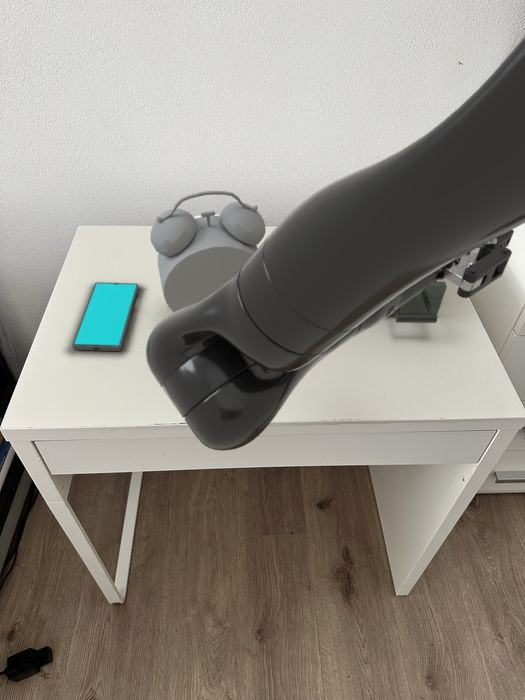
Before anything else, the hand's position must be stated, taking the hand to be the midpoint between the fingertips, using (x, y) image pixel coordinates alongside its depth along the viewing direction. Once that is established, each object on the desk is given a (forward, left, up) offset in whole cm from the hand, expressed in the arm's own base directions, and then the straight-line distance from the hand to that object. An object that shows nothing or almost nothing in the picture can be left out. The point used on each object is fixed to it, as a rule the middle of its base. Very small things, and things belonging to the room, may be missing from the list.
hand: (468, 212), depth 54 cm
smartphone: (+47, +7, -30) cm, 56 cm away
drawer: (+7, -20, -29) cm, 36 cm away
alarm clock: (+33, -2, -30) cm, 45 cm away
